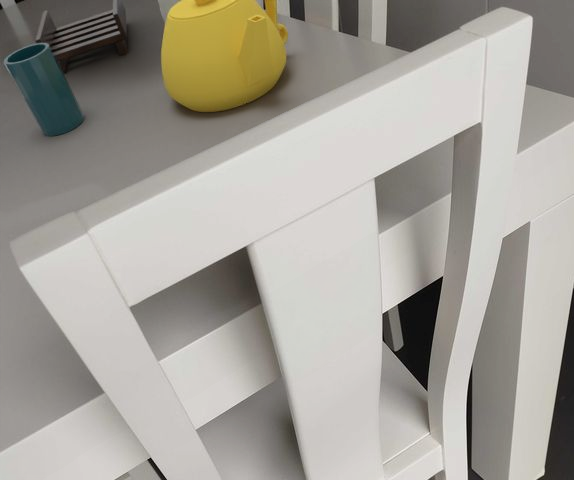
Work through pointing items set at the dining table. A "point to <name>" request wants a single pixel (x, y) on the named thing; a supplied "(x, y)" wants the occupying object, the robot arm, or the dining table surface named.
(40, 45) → the cup
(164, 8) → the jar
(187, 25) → the teapot
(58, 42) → the rack
